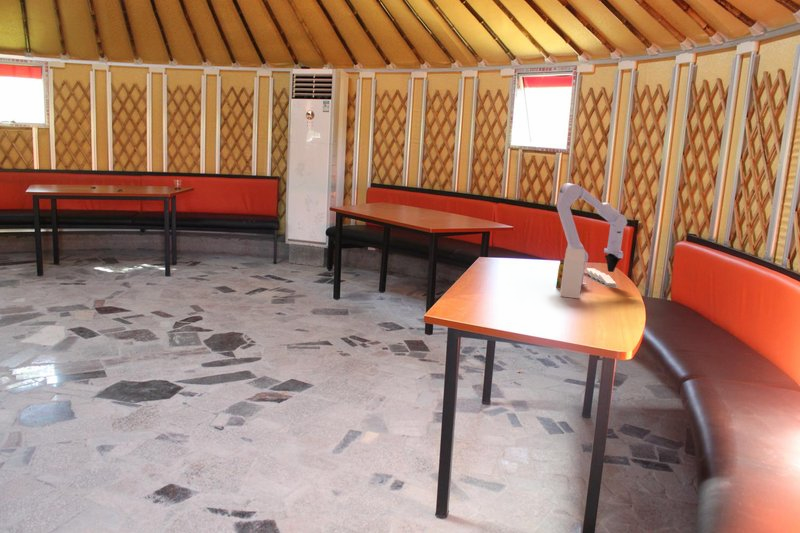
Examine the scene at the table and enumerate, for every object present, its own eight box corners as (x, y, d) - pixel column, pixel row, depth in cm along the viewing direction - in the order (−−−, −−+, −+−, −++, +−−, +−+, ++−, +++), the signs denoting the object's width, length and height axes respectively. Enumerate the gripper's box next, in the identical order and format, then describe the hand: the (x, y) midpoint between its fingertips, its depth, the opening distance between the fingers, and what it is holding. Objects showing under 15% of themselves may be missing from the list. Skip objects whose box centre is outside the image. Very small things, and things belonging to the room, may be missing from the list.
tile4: (601, 276, 294) (595, 268, 302) (592, 275, 294) (586, 268, 301) (601, 278, 295) (594, 270, 302) (592, 278, 294) (585, 270, 302)
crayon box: (555, 287, 269) (559, 260, 266) (556, 286, 271) (559, 259, 269) (573, 290, 267) (577, 262, 264) (574, 288, 269) (577, 261, 267)
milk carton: (579, 298, 250) (585, 251, 247) (560, 296, 252) (566, 249, 248) (578, 295, 257) (584, 248, 254) (560, 293, 258) (565, 246, 255)
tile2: (611, 281, 285) (603, 272, 292) (602, 280, 284) (594, 272, 292) (610, 283, 285) (603, 275, 293) (601, 282, 285) (594, 274, 292)
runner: (620, 288, 278) (620, 287, 278) (606, 287, 277) (606, 286, 277) (597, 277, 301) (597, 276, 301) (584, 276, 300) (584, 275, 300)
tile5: (597, 273, 299) (589, 271, 308) (588, 273, 299) (580, 271, 307) (596, 276, 300) (589, 274, 308) (587, 275, 299) (580, 273, 307)
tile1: (616, 283, 280) (608, 274, 288) (606, 282, 279) (599, 274, 287) (615, 285, 281) (607, 277, 288) (606, 285, 280) (598, 276, 288)
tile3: (606, 278, 289) (599, 270, 297) (597, 278, 289) (590, 270, 297) (605, 281, 290) (598, 272, 298) (596, 280, 289) (589, 272, 297)
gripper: (631, 244, 272) (627, 275, 275) (616, 239, 286) (611, 268, 289) (616, 243, 271) (611, 274, 274) (601, 238, 285) (597, 267, 288)
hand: (610, 271), depth 281 cm, fingers closed
